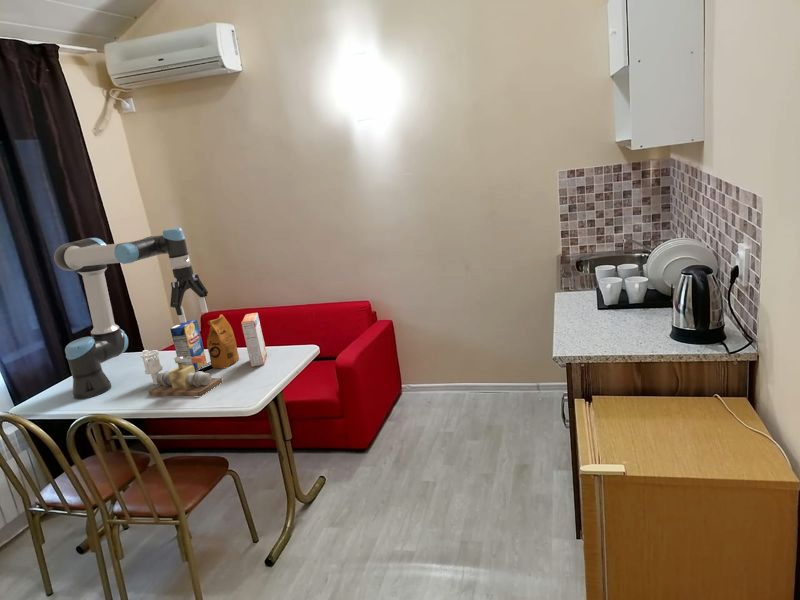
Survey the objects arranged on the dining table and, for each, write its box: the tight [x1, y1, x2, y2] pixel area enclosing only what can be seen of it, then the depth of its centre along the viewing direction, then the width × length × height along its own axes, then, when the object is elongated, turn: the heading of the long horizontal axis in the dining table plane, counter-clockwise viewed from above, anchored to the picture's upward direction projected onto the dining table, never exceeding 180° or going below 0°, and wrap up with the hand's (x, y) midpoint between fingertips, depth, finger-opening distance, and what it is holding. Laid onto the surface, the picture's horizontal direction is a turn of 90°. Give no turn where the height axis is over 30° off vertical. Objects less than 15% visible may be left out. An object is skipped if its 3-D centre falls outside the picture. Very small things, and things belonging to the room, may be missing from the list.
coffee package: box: [206, 314, 240, 369], centre depth 268 cm, size 10×12×22 cm
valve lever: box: [174, 355, 207, 364], centre depth 240 cm, size 14×3×2 cm, turn 69°
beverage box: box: [169, 319, 208, 373], centre depth 264 cm, size 7×11×22 cm, turn 170°
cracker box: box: [240, 312, 268, 368], centre depth 264 cm, size 14×6×21 cm, turn 6°
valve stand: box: [148, 362, 223, 397], centre depth 243 cm, size 26×14×12 cm, turn 69°
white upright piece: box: [140, 349, 164, 385], centre depth 256 cm, size 7×7×15 cm
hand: (194, 317), depth 243 cm, fingers open, 13 cm apart
